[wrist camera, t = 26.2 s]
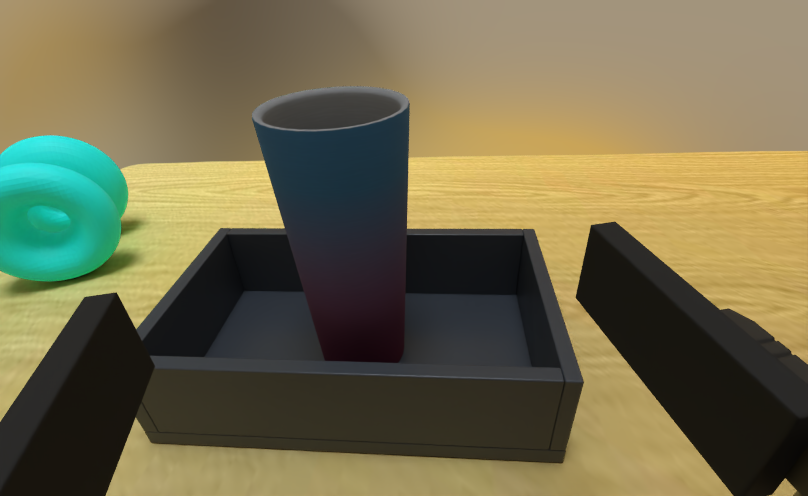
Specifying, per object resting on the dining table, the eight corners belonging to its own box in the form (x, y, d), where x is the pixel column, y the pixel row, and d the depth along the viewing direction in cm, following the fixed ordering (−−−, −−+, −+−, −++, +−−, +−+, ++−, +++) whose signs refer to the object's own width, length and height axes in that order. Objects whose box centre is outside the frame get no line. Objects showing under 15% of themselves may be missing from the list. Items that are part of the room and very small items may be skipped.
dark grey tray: (524, 298, 32) (534, 228, 29) (562, 463, 22) (584, 382, 18) (241, 294, 34) (220, 227, 31) (151, 442, 24) (104, 366, 20)
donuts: (-2, 303, 35) (-85, 187, 29) (30, 242, 42) (-30, 142, 37) (138, 268, 38) (87, 158, 32) (144, 218, 46) (104, 122, 40)
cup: (418, 393, 24) (406, 127, 16) (297, 393, 25) (226, 133, 17) (419, 311, 30) (411, 83, 22) (320, 312, 30) (276, 88, 22)
